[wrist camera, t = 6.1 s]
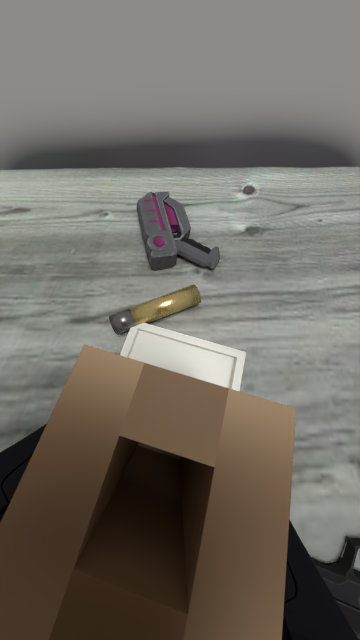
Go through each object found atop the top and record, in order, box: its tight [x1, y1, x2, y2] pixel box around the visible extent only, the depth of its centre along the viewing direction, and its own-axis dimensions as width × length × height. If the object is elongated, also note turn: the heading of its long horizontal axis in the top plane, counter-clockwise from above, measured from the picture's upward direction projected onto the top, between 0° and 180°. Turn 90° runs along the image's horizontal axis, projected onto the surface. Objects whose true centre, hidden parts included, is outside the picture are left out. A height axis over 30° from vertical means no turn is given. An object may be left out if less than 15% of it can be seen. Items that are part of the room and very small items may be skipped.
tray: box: [120, 323, 246, 391], centre depth 17 cm, size 13×13×2 cm
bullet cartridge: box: [109, 285, 201, 335], centre depth 20 cm, size 10×2×2 cm, turn 113°
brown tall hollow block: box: [0, 345, 296, 640], centre depth 9 cm, size 5×5×12 cm
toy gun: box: [137, 192, 220, 270], centre depth 24 cm, size 14×3×10 cm
